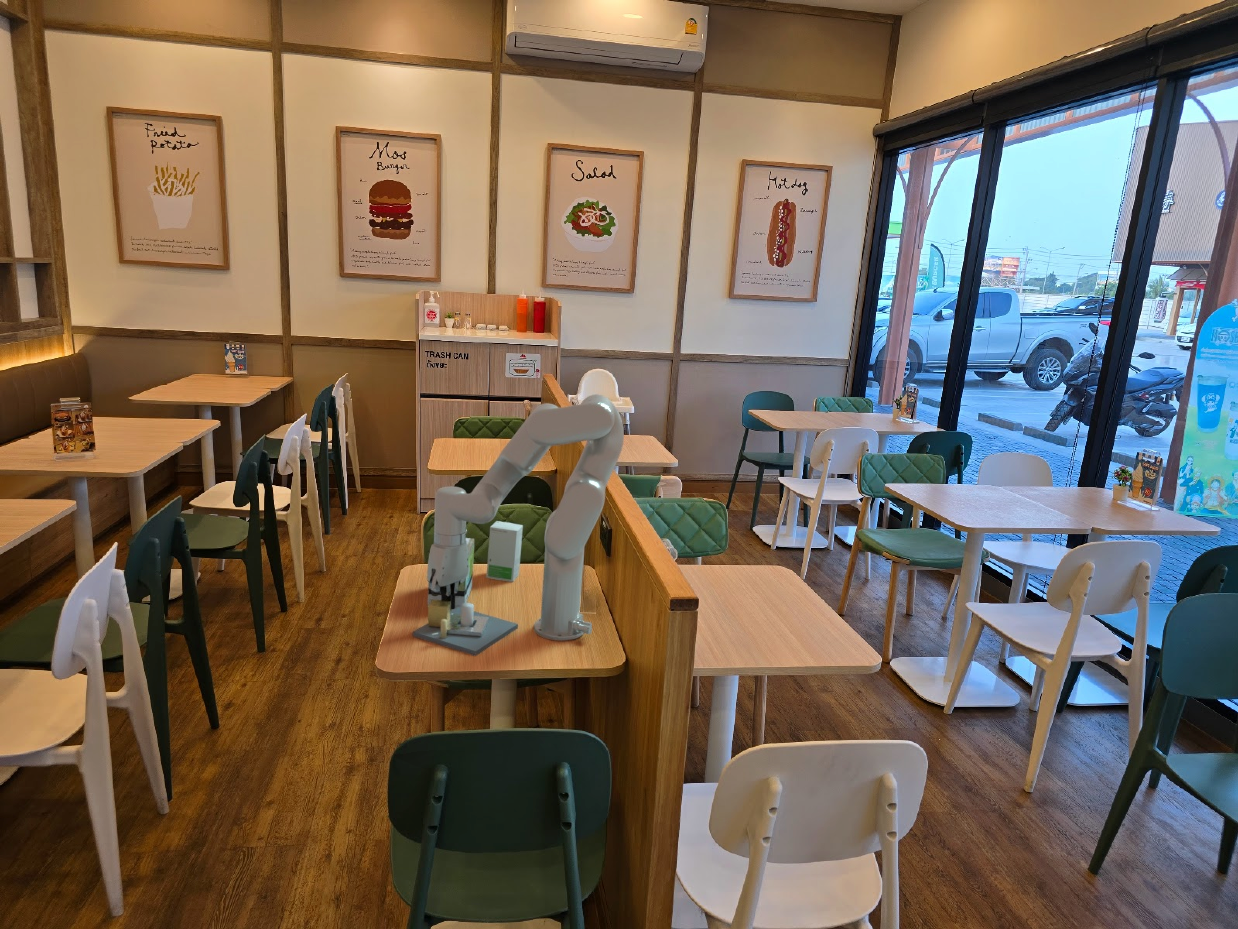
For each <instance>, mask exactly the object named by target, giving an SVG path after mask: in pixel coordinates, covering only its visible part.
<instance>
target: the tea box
mask: <svg viewBox="0 0 1238 929" xmlns="http://www.w3.org/2000/svg"><path fill="white" fill-rule="evenodd" d="M466 542H467V547H468V559H469V568H468V575H467V577H466V580H465V581H464V582H462V583H460V585H459V587H458V591H457V593H455V608H457V607H461V605H462V604H464V603H468V602H467V601H468V598H469V596H470V593H471V590H472V589H473V576H474V560H475V559H474V557H475V538H470V537H469V538H468V537H466ZM431 585H432V583H429V582H428V585H427V586H428V587H427V588H428V590H427V607H429V604H430V603H431V601H432V600H441V593H440V592H439V591H438V592H435V591H432V590H431Z"/></svg>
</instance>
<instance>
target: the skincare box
mask: <svg viewBox="0 0 1238 929" xmlns="http://www.w3.org/2000/svg"><path fill="white" fill-rule="evenodd" d="M523 529H524V525H523V524H518V523H512V522H505V521H500V520H499V521H498V520H496V521H495V522H494V523H493V524H492V525H490V527H489V537H488V538H489V539H488V541H489V542H488V549H487V551H488V552H487V562H486V563H487V566H486V578H487V579H492V580H495V581H496V580H497V581H504V582H510V583H513V582H515V580H516V579H517V578H518V577H519V575H520V564H521V552H522V540H523Z"/></svg>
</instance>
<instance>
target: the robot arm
mask: <svg viewBox="0 0 1238 929" xmlns="http://www.w3.org/2000/svg"><path fill="white" fill-rule="evenodd" d="M624 429H625V428H624V422H623V420H622V416H621V414H620V412H619V411H618V409H617V407H616V406H615V404H614V403H613V402H612V400H610V398H608V397H607V396H604V395H603V394H599V393H598V394H592V395H588V396H587V397H585V398H584V399H583V400H582V401H581V402H580V403H579V404H575V405H570V406H562V407H559V406H557V405H556V404H553V403H547V402H546V403H541V404H540V405H537V406H536V407H535V408H534V409H533V410H532V411H531V413H530V414H529V415H528V417H527V418H526V419H525V420H524V422H523V423H522V424H521V426H520V427H519V428H518V429H517V431H516V432H515V434H514V435H513V436H512V437H511V439H510V440H509V441H508V443H507V444H506V445H505V446H504V448H503V449H502V450H501V451H500V453H499V455H498V457H497V458H496V459H495V461H494V462H493V464H492V466H490V468H489V469H488V470H487V471H486V473H485V474H484V475H483V477H482V478H481V479H480V480H479V482H478V483H477V485H476V486H475V487H474V488H473V489H472V491H471V492H470V493H467V491H466V490H465V489H464V488H462V487H459V486H452V485H449V486H443V487H440V488H437V490H436V491H435V494H434V528H433V530H434V531H433V543H432V544H431V546H430V550H429V554H428V560H427V571H426V579H427V580H426V581H427V583H428V584H429V583H432V585H431V590H432V591H435V592H438V591H439V592H440V593H441V601H451V610H450V611H452V610H453V609H455V593H457V591H458V587H459V585H460V583H462V582H464V581H465V580H466V577H467V575H468V568H469V559H468V547H467V542H466V538H467V537H466V536H467V533H468V530H467V522H468V523H469V522H470V523H473V524H478V525H479V524H480V525H485V524H488V523H489V522H492V520H494V519H495V517H496V515H497V513H498V511H499V510H498V509H499V508H500V506H501V504H502V503H503V501H504V500H505V498H506V497H508V494H509V493H511V491H512V489H513V488H514V487H515V486H516V484H517V483H518V482H519V481H520V480H522V478H525V476H527V475H528V476H529V474H530V473H531V472H532V471H533V470H534V469H535V468H536V466H537V465H538V463H540V462H541V460H542V458H543V457H544V456H545V455H546V454H547V453H548V451H549V450H550V448H552V446H553V447H554V446H560V445H568V444H574V443H579V442H586V443H585V445H584V448H583V450H582V452H581V454H580V457H579V460H578V461H577V463H576V465H575V467H574V469H573V471H572V473H571V475H570V476H569V478H568V479H567V482H566V484H565V486H564V492H563V494H562V498H561V500H560V502H559V504H558V505H557V508H556V509H554V511H553V512H551V513H550V515H549V516H548V518H547V521H546V525H545V529H544V530H545V531H544V546H545V548H544V560H543V561H544V562H543V563H544V565H543V577H542V578H543V579H542V593H541V594H542V595H541V609H540V610H541V611H540V613H541V614H540V618H539V619H537V620H536V621H535V622H534V624H533V630H534V632H535V634H537V635H538V636H539V637H541V638H543V639H544V638H545V639H547V640H552V641H571V640H576V639H578V638H580V637H581V636H583V635H584V634H588V635H591V634H592V631H593V623H592V622H589V621H585V620H584V614H583V613H581V596H582V586H583V584H582V582H583V571H584V556H585V546H586V545H587V542H588V540H589V538H590V536H591V534H592V531H593V530H594V528H595V526H596V524H597V521H598V519H599V518H600V515H601V514H602V511H603V508H604V505H605V502H606V487H607V485H608V483H609V480H610V479H611V476H612V474H613V472H614V470H615V468H616V465H617V462H618V460H619V458H620V455H621V452H622V451H623V450H622V449H623V446H624V437H625V434H624V433H625V431H624Z"/></svg>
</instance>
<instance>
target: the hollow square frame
mask: <svg viewBox="0 0 1238 929" xmlns="http://www.w3.org/2000/svg"><path fill="white" fill-rule="evenodd" d="M450 611H452V610H451V601H441V600H432V601H431V603H430V604H429V606H428V619H427V624H428V626H436V627H441V620H442V619H446V620H447V633H448V634H459V635H470V636H482V634H483V632H484V630H485V628H486V625H487V623H488V621H489V617H482V616H473V624H475V626H474V627H463V626H458V625H459V624H460V623H461V615H459V614H453V615H452V616H451V618H450Z"/></svg>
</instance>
